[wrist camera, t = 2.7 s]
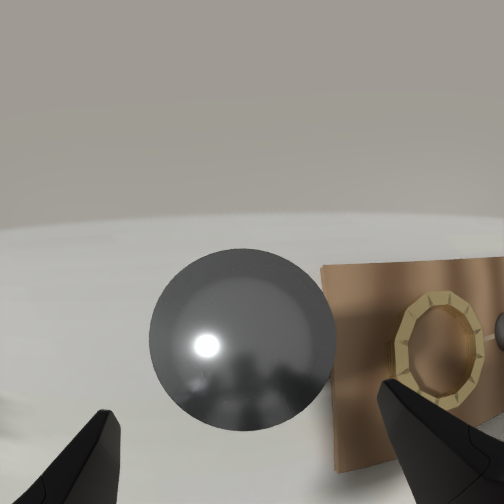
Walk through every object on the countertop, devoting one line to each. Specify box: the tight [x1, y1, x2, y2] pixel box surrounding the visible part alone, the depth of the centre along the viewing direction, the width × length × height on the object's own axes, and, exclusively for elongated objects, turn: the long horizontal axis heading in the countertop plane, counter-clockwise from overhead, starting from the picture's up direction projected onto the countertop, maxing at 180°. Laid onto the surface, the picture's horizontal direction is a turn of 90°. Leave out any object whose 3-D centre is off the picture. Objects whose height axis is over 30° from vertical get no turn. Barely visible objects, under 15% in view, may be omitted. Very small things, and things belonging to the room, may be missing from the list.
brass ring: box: [386, 291, 485, 410], centre depth 17 cm, size 8×8×1 cm
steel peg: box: [149, 249, 337, 431], centre depth 12 cm, size 4×4×12 cm
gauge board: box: [320, 257, 504, 473], centre depth 18 cm, size 21×14×2 cm, turn 93°
